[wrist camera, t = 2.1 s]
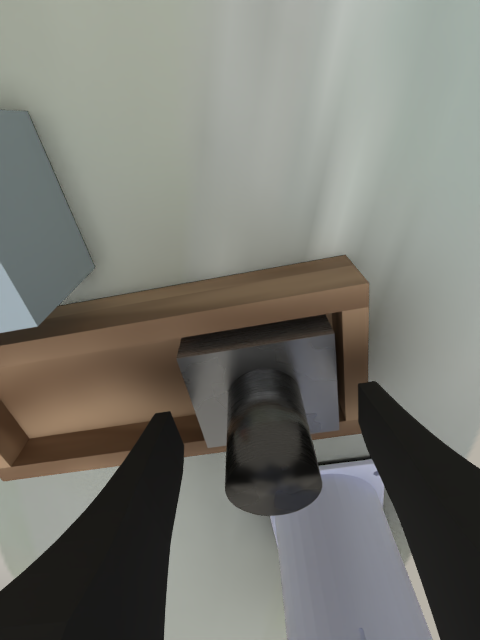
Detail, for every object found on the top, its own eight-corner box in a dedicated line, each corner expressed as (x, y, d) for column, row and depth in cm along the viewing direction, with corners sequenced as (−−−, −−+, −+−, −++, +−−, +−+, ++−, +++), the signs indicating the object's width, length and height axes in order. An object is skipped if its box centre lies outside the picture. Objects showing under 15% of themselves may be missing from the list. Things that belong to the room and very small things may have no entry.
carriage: (326, 392, 17) (371, 523, 11) (211, 409, 17) (199, 541, 12) (320, 303, 14) (373, 416, 9) (184, 325, 15) (154, 445, 9)
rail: (349, 389, 19) (367, 432, 16) (32, 435, 20) (3, 481, 18) (345, 254, 15) (368, 283, 12) (-48, 325, 16) (-102, 363, 14)
